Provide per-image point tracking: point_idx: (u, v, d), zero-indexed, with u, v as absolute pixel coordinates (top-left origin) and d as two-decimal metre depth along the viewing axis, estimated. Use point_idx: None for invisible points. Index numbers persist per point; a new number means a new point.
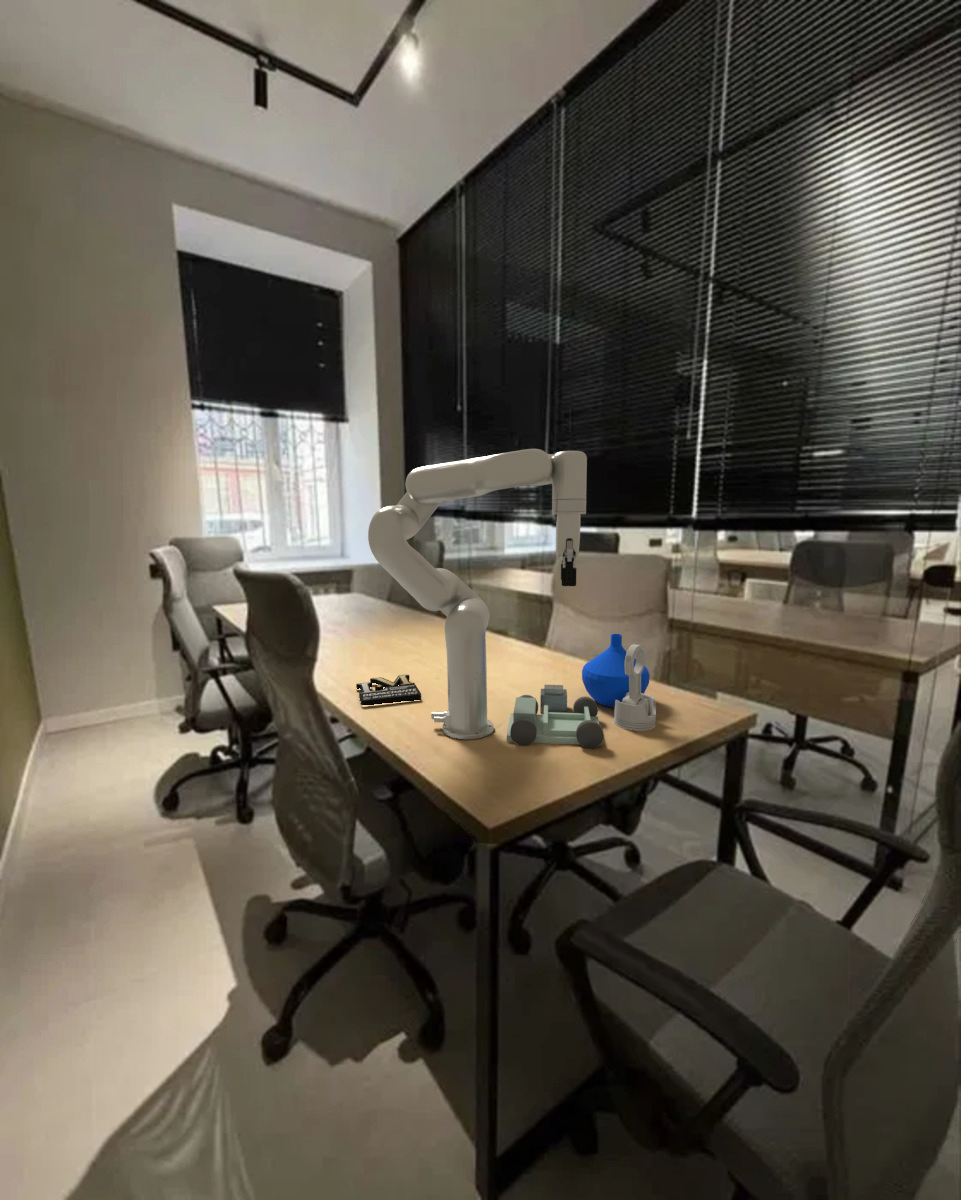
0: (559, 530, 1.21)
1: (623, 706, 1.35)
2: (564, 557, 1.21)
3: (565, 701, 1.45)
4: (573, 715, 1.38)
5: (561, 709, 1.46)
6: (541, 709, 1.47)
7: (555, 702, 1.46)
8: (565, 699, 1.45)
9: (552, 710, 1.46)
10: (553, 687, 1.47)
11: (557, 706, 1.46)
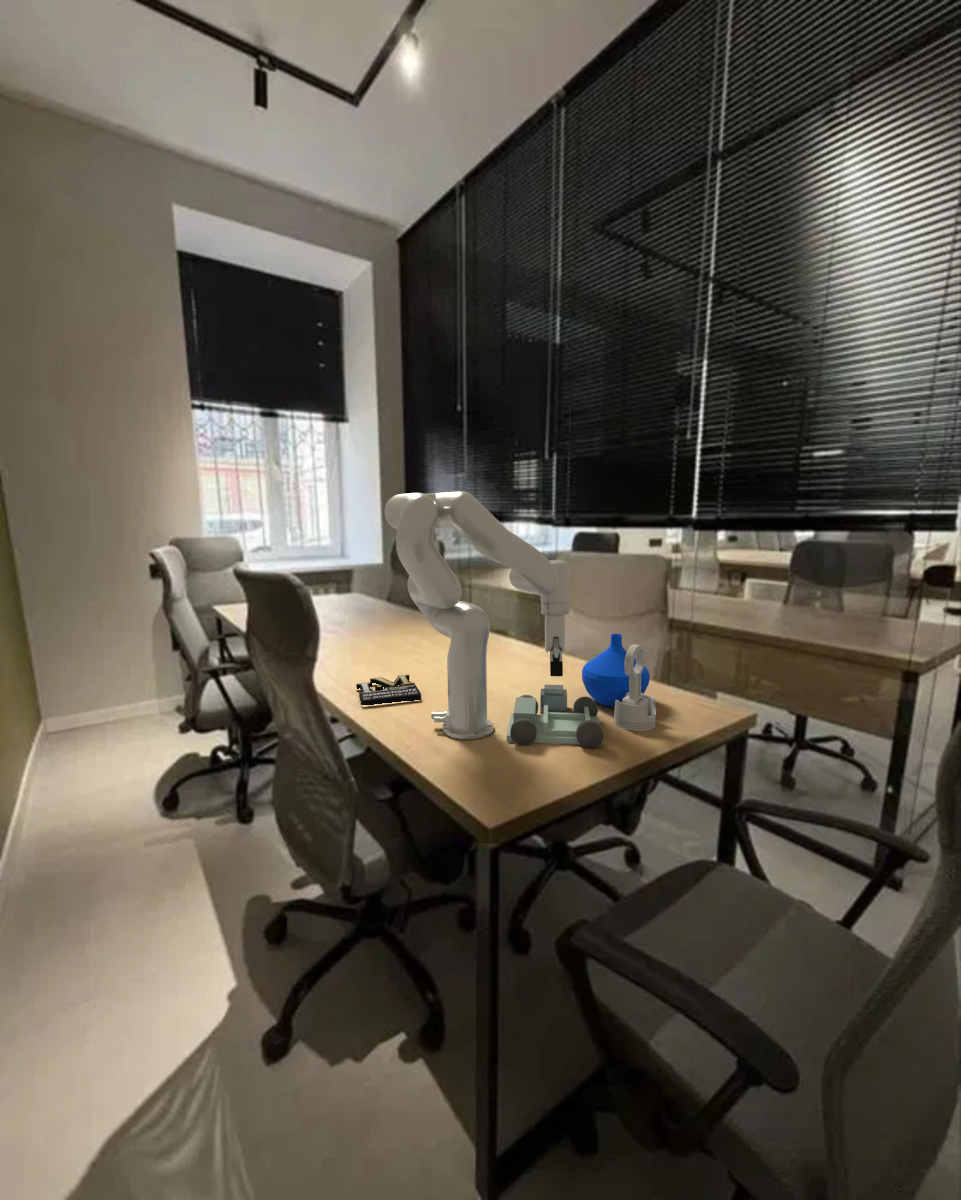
0: (547, 629, 1.41)
1: (623, 706, 1.35)
2: (552, 652, 1.42)
3: (565, 701, 1.45)
4: (573, 715, 1.38)
5: (561, 709, 1.46)
6: (541, 709, 1.47)
7: (555, 702, 1.46)
8: (565, 699, 1.45)
9: (552, 710, 1.46)
10: (553, 687, 1.47)
11: (557, 706, 1.46)
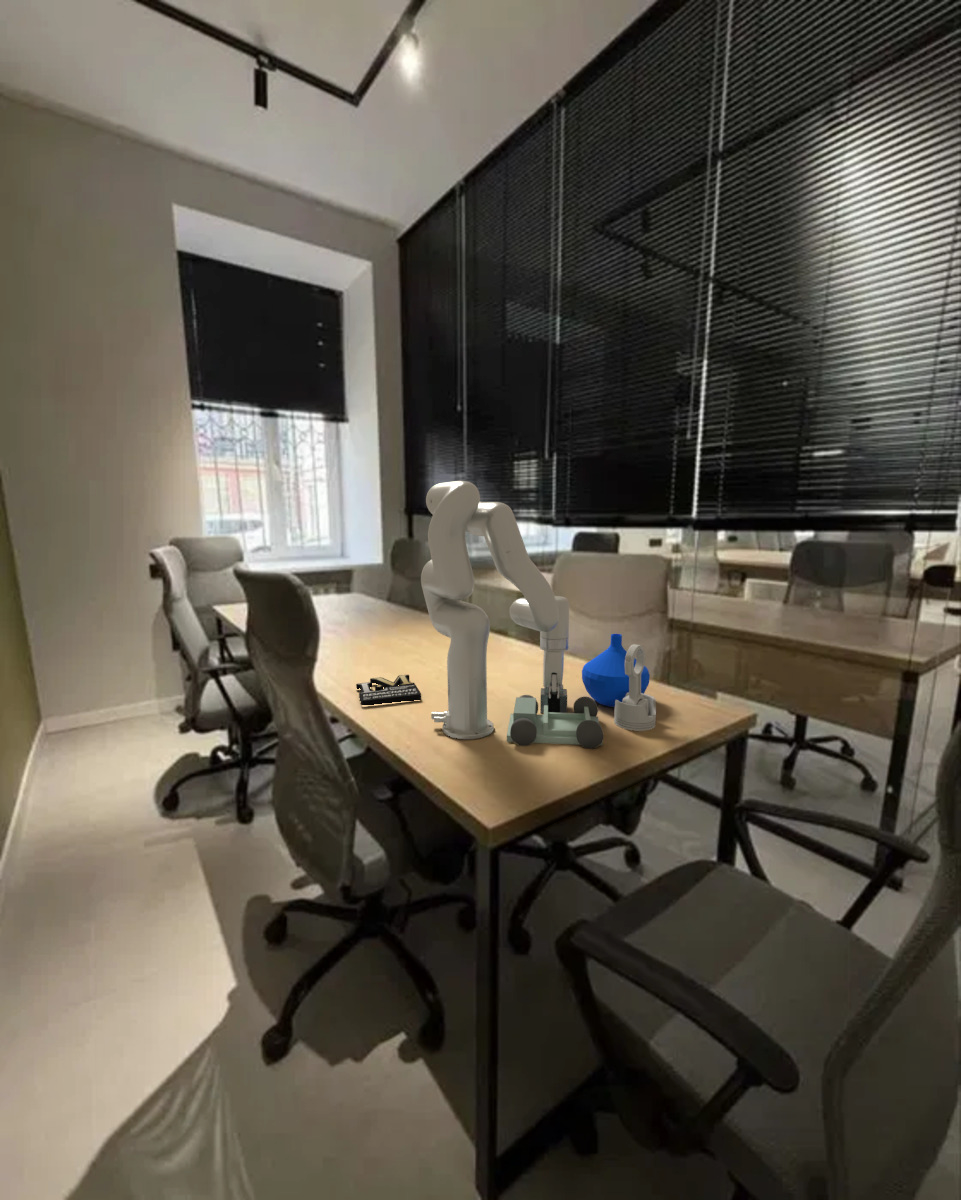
0: (545, 665, 1.42)
1: (623, 706, 1.35)
2: (550, 689, 1.44)
3: (565, 701, 1.45)
4: (573, 715, 1.38)
5: (561, 709, 1.46)
6: (541, 709, 1.47)
7: None
8: (565, 699, 1.45)
9: None
10: None
11: None
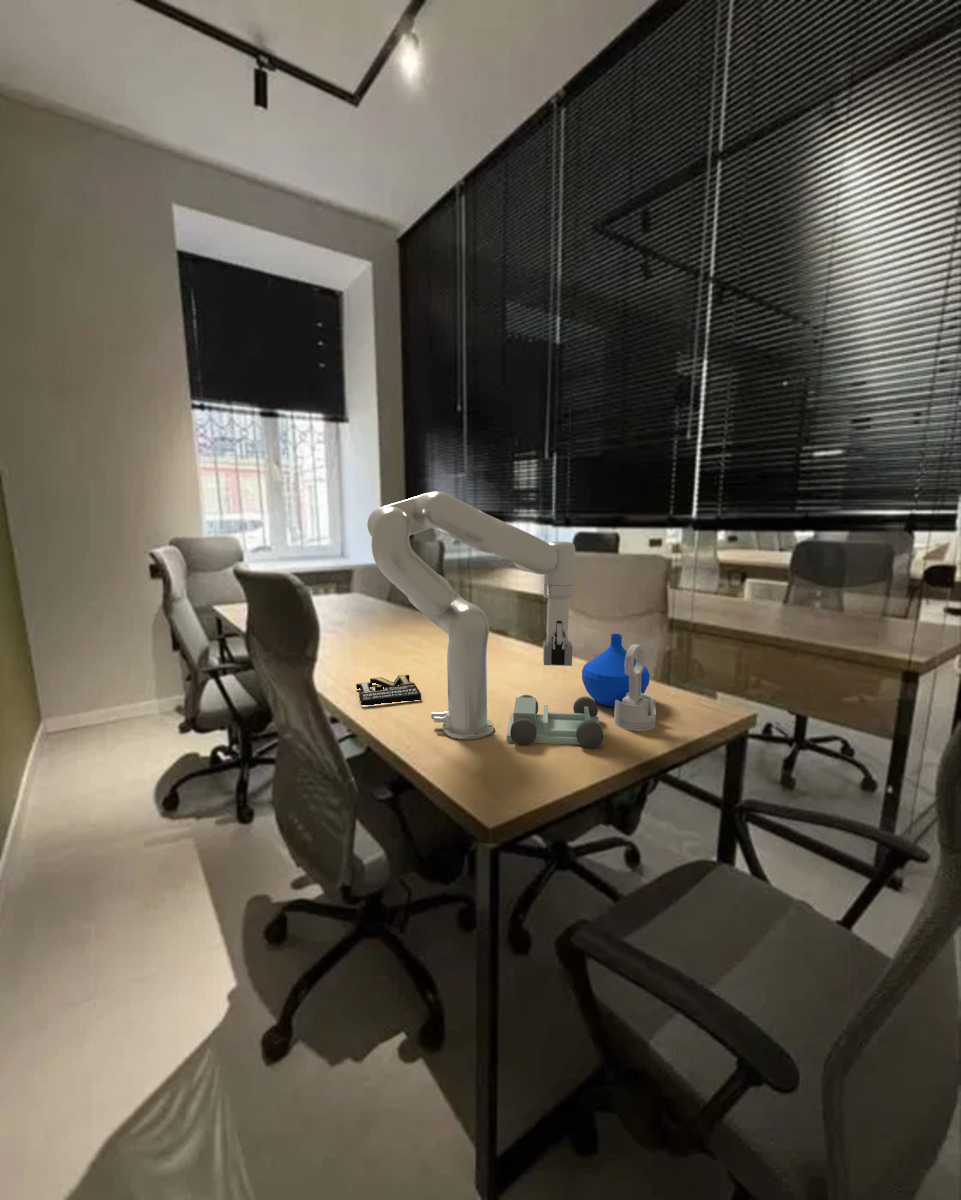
0: (550, 613, 1.35)
1: (623, 706, 1.35)
2: (554, 639, 1.37)
3: (570, 652, 1.38)
4: (573, 715, 1.38)
5: (566, 661, 1.38)
6: (545, 661, 1.39)
7: None
8: (570, 650, 1.38)
9: None
10: None
11: None
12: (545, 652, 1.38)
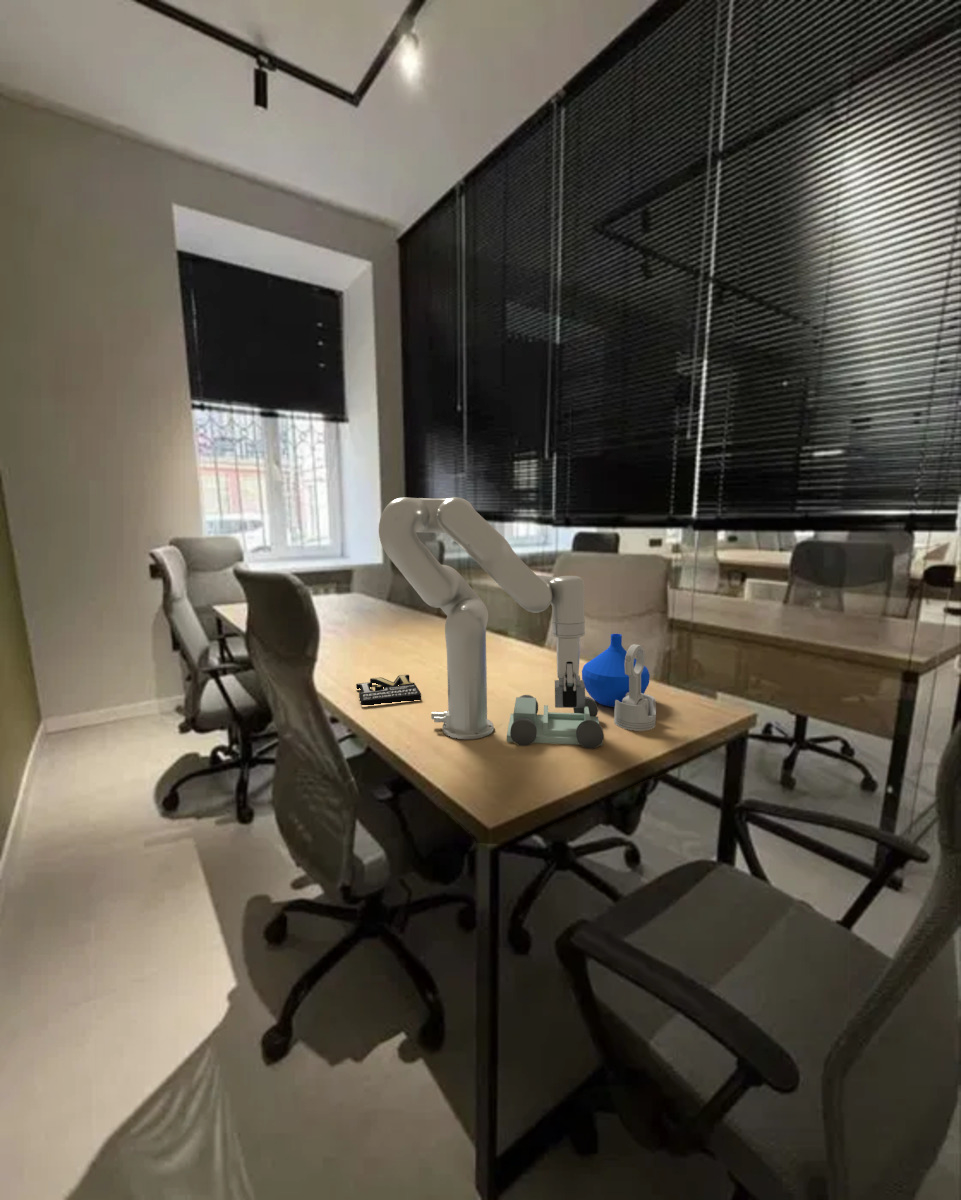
0: (559, 653, 1.26)
1: (623, 706, 1.35)
2: (565, 681, 1.28)
3: (583, 693, 1.29)
4: (573, 715, 1.38)
5: (579, 703, 1.30)
6: (556, 703, 1.30)
7: None
8: (583, 691, 1.29)
9: None
10: None
11: None
12: (556, 694, 1.30)
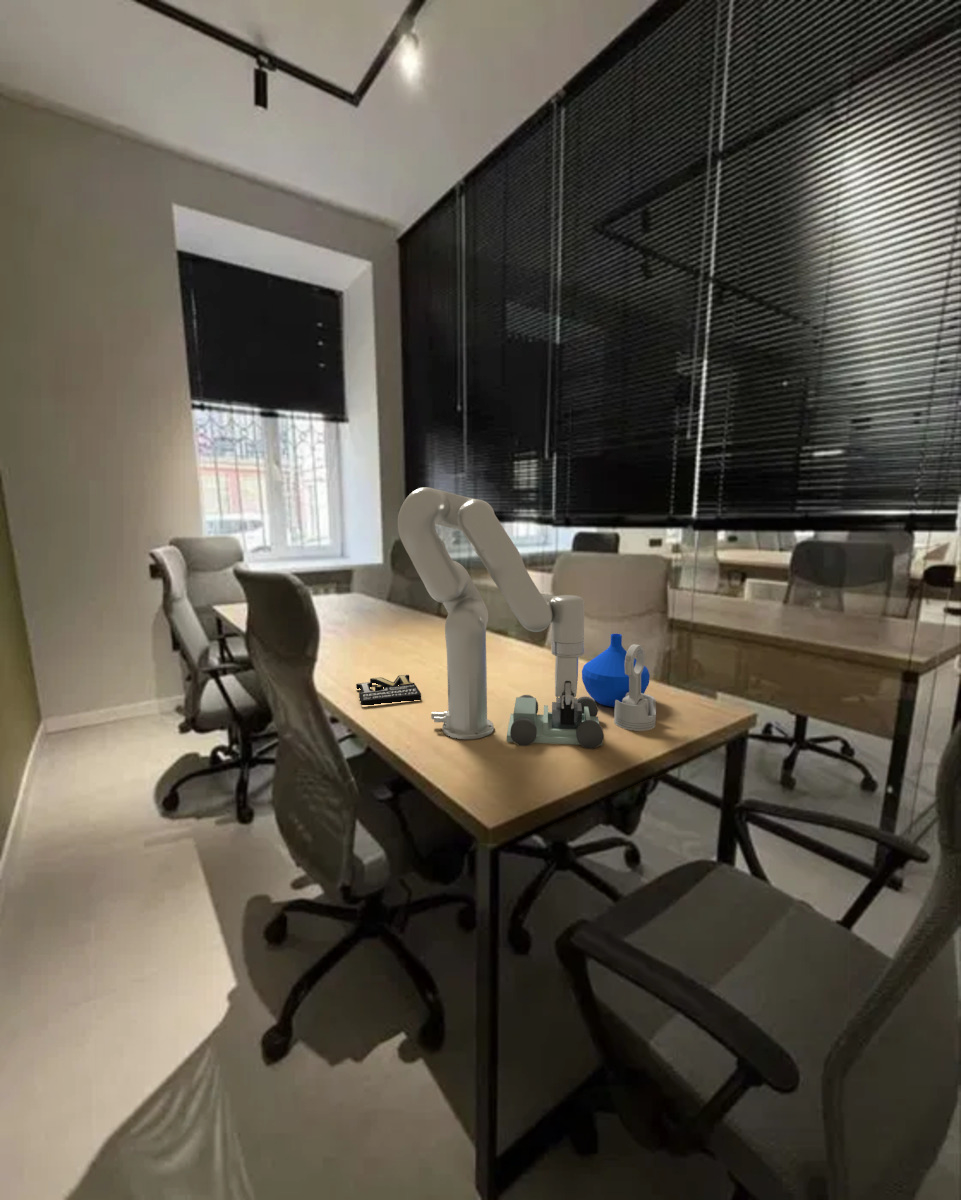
0: (558, 672, 1.27)
1: (623, 706, 1.35)
2: (563, 698, 1.28)
3: (580, 717, 1.30)
4: None
5: (576, 726, 1.31)
6: (553, 725, 1.31)
7: None
8: (580, 714, 1.30)
9: (565, 727, 1.31)
10: None
11: None
12: (553, 716, 1.31)
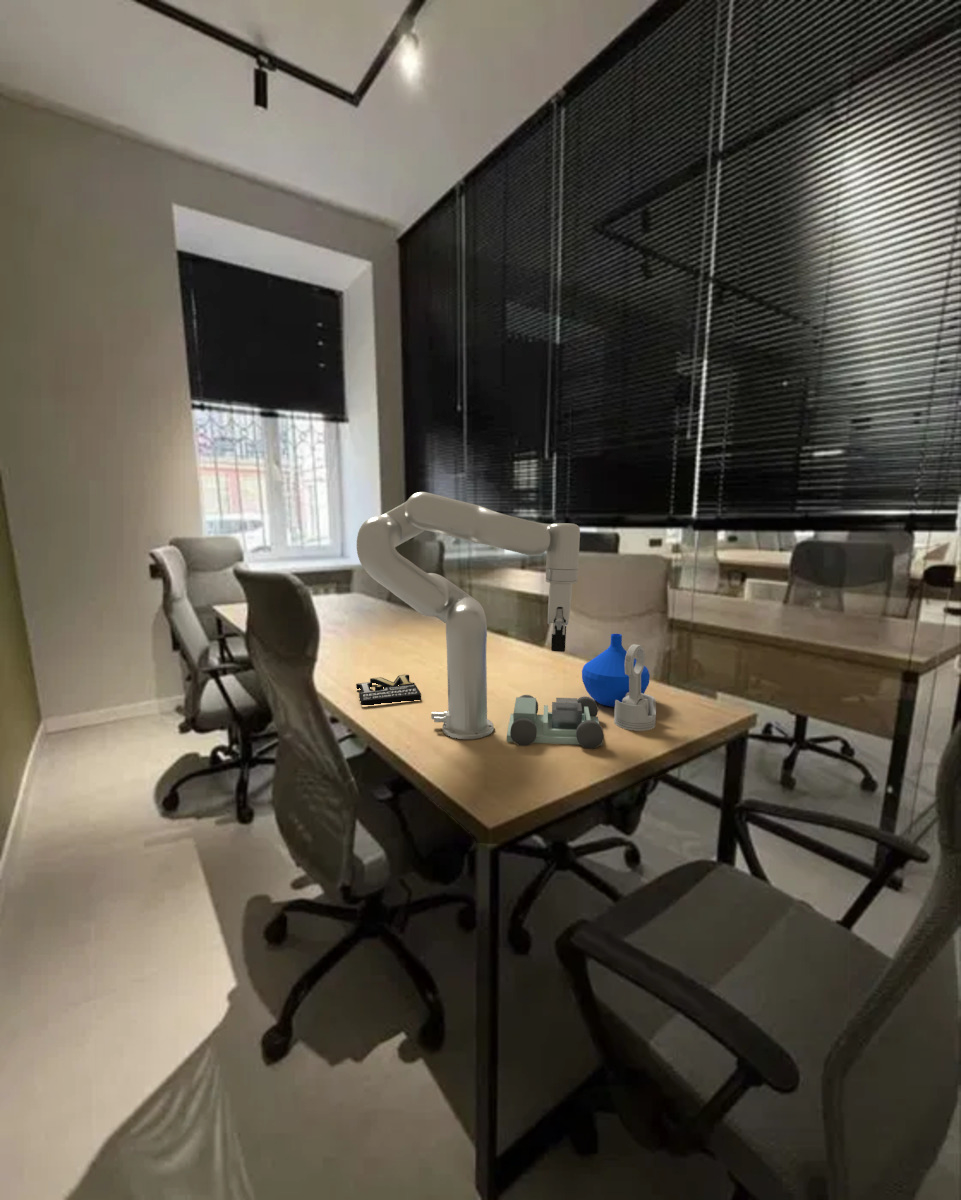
0: (550, 598, 1.27)
1: (623, 706, 1.35)
2: (554, 624, 1.28)
3: (580, 717, 1.30)
4: None
5: (576, 726, 1.31)
6: (553, 725, 1.31)
7: (568, 718, 1.30)
8: (580, 714, 1.30)
9: (565, 727, 1.31)
10: (566, 701, 1.32)
11: (570, 722, 1.31)
12: (553, 716, 1.31)
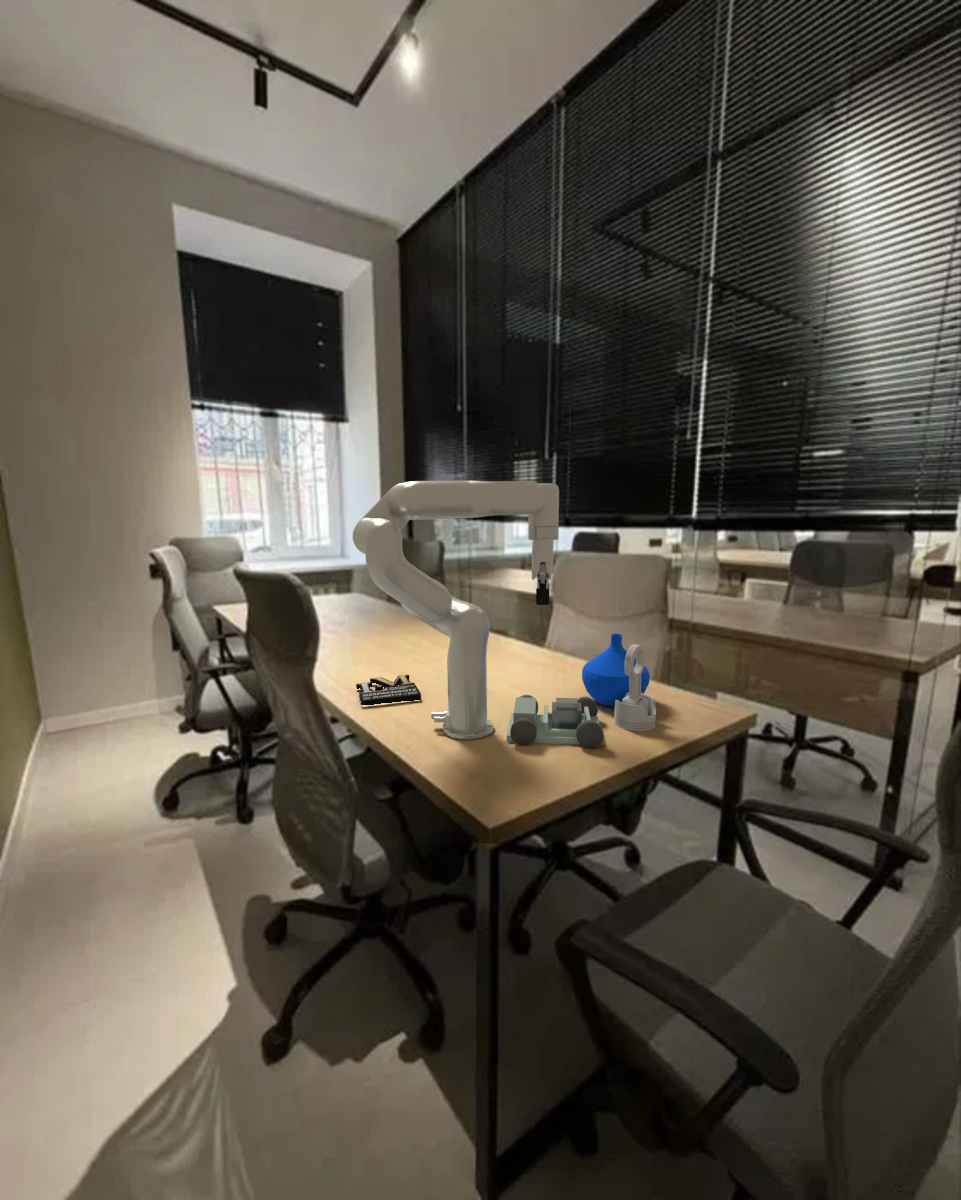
0: (534, 554, 1.34)
1: (623, 706, 1.35)
2: (538, 579, 1.35)
3: (580, 717, 1.30)
4: None
5: (576, 726, 1.31)
6: (553, 725, 1.31)
7: (568, 718, 1.30)
8: (580, 714, 1.30)
9: (565, 727, 1.31)
10: (566, 701, 1.32)
11: (570, 722, 1.31)
12: (553, 716, 1.31)
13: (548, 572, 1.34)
